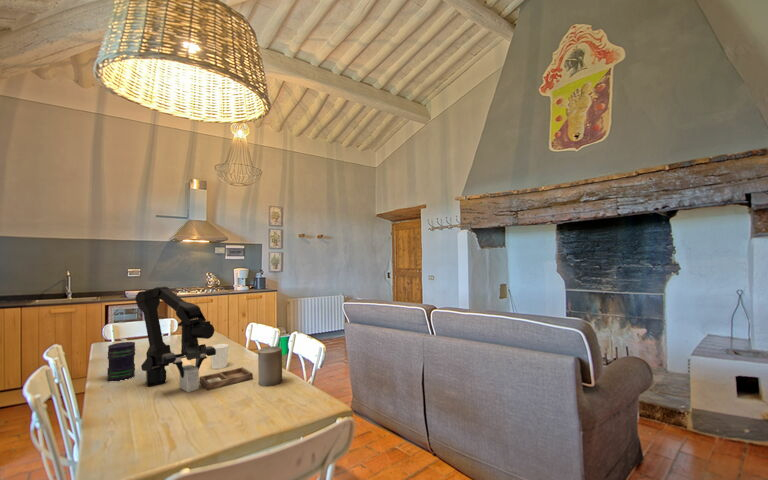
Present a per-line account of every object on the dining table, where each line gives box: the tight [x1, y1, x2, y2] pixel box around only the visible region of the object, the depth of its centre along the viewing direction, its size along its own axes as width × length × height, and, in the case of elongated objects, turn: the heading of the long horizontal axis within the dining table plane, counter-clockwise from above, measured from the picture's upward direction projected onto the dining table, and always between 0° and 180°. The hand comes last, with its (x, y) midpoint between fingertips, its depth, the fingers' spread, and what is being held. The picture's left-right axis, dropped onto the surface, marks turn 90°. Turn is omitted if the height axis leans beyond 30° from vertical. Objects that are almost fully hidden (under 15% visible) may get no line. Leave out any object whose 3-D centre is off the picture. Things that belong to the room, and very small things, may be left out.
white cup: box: [210, 343, 229, 370], centre depth 170 cm, size 8×8×10 cm
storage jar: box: [107, 341, 136, 382], centre depth 156 cm, size 10×10×15 cm
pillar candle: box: [257, 345, 283, 387], centre depth 148 cm, size 10×10×15 cm
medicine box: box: [179, 364, 200, 393], centre depth 142 cm, size 8×4×9 cm, turn 50°
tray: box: [199, 367, 254, 391], centre depth 150 cm, size 18×12×2 cm, turn 132°
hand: (189, 376), depth 142 cm, fingers open, 5 cm apart
